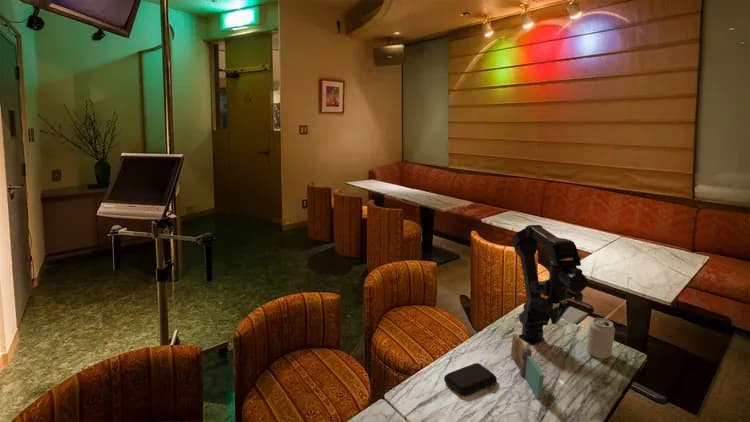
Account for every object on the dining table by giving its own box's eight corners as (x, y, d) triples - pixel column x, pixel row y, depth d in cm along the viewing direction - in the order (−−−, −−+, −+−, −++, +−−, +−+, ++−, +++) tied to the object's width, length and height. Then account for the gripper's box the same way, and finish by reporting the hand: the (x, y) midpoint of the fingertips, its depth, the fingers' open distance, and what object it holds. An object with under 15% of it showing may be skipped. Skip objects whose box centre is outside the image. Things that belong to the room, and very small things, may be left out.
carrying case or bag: (464, 402, 126) (501, 386, 133) (464, 393, 125) (502, 377, 132) (441, 381, 135) (477, 367, 142) (441, 373, 134) (478, 359, 141)
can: (613, 361, 145) (619, 328, 142) (589, 358, 147) (594, 326, 144) (607, 349, 152) (611, 317, 149) (583, 346, 154) (588, 315, 151)
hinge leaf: (519, 371, 139) (521, 350, 137) (527, 371, 139) (529, 350, 137) (534, 398, 126) (537, 375, 125) (543, 398, 126) (546, 375, 125)
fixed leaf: (530, 377, 137) (533, 352, 134) (522, 377, 136) (524, 353, 134) (516, 355, 148) (518, 332, 146) (508, 355, 148) (510, 332, 146)
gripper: (557, 265, 150) (552, 307, 154) (518, 275, 141) (514, 320, 145) (586, 276, 141) (580, 320, 145) (546, 288, 132) (541, 335, 136)
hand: (553, 323), depth 143 cm, fingers closed
